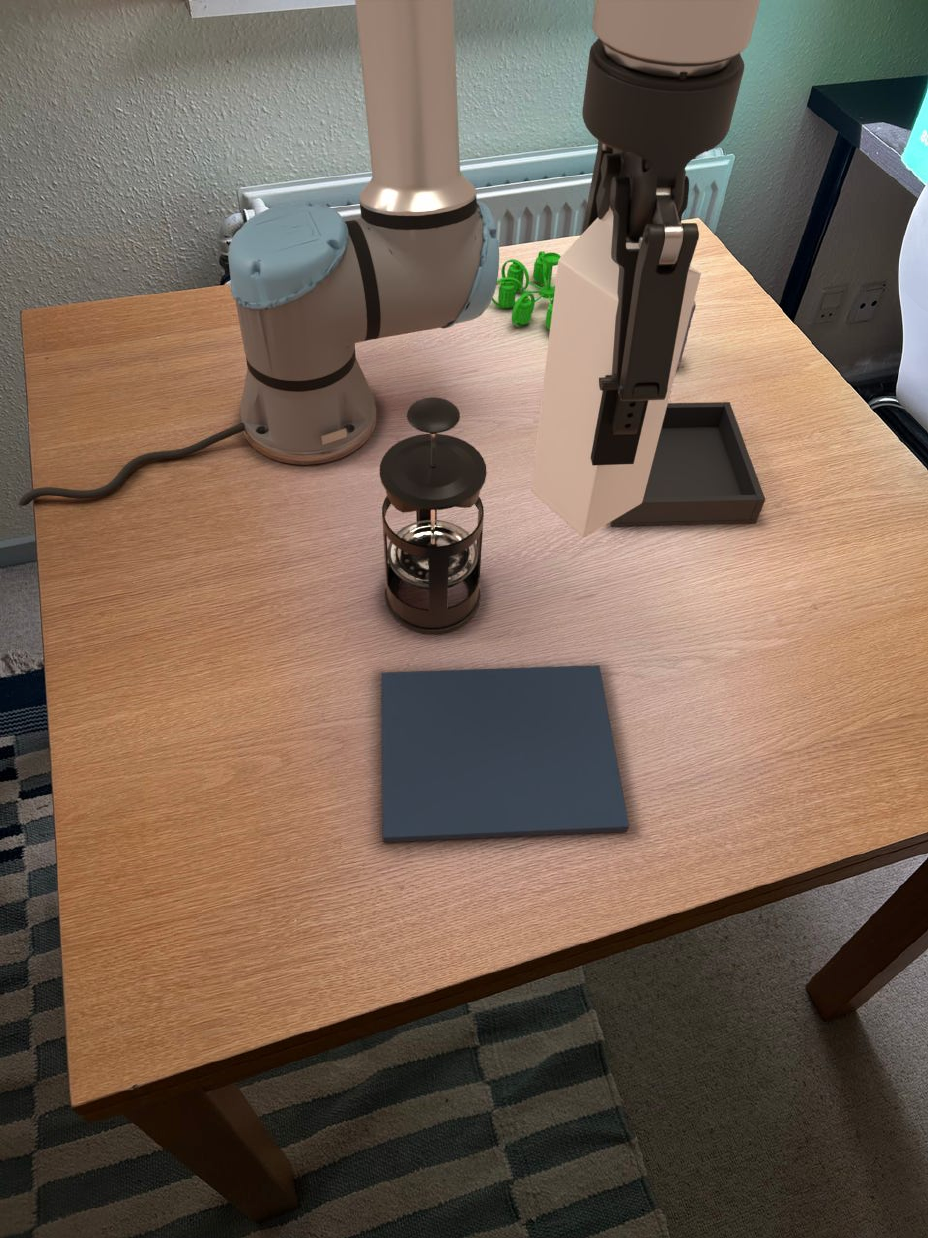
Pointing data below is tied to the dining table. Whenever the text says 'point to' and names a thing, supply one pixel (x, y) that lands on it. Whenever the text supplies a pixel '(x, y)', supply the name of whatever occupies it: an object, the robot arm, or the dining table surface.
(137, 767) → the dining table surface
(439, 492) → the french press
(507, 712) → the mat
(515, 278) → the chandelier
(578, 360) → the milk
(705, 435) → the tray
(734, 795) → the dining table surface
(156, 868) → the dining table surface
